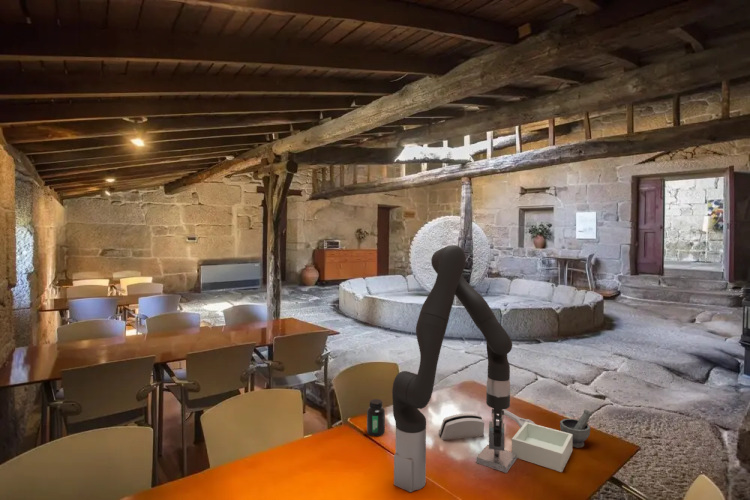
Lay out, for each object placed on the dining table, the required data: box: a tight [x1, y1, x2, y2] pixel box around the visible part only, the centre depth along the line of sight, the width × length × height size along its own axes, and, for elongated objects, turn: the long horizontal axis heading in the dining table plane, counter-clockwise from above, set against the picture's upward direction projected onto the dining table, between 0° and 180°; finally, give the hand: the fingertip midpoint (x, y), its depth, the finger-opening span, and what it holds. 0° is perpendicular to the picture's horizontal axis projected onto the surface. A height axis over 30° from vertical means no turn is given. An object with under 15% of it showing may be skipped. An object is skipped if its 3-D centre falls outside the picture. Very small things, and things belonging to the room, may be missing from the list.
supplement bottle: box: [366, 398, 386, 437], centre depth 156 cm, size 7×7×12 cm
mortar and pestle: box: [559, 409, 593, 449], centre depth 149 cm, size 11×9×12 cm
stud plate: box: [475, 444, 518, 474], centre depth 137 cm, size 10×10×7 cm
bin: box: [511, 422, 573, 473], centre depth 141 cm, size 16×16×6 cm
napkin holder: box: [438, 412, 485, 441], centre depth 153 cm, size 17×5×10 cm, turn 101°
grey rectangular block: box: [488, 420, 505, 451], centre depth 136 cm, size 5×5×7 cm
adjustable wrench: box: [503, 409, 536, 428], centre depth 171 cm, size 25×6×2 cm, turn 19°
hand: (497, 441), depth 136 cm, fingers closed on grey rectangular block, 4 cm apart
